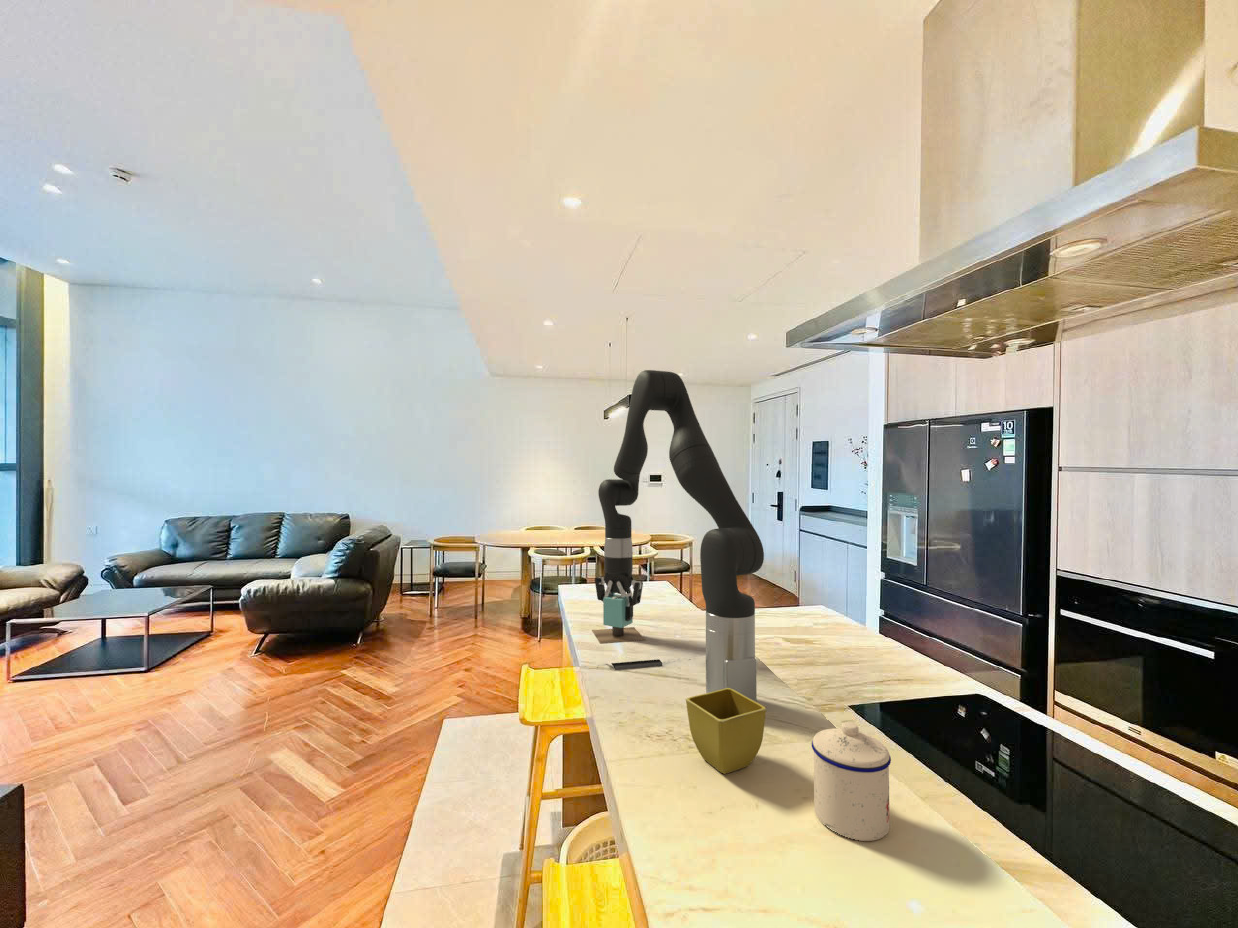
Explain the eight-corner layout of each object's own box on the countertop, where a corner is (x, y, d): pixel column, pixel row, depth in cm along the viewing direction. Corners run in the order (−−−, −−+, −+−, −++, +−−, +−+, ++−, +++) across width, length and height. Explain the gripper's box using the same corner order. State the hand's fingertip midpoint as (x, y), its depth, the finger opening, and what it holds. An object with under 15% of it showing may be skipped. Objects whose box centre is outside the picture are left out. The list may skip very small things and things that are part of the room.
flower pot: (720, 786, 71) (720, 720, 72) (684, 756, 79) (684, 697, 80) (768, 770, 76) (767, 707, 76) (729, 743, 83) (729, 686, 84)
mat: (662, 666, 118) (662, 662, 118) (615, 670, 115) (615, 666, 115) (648, 650, 128) (648, 647, 128) (605, 653, 126) (605, 650, 126)
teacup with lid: (908, 842, 61) (907, 741, 61) (834, 846, 60) (833, 744, 60) (853, 782, 72) (852, 698, 73) (791, 785, 72) (790, 700, 72)
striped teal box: (621, 627, 132) (621, 599, 132) (603, 624, 135) (603, 597, 135) (632, 622, 137) (632, 595, 137) (614, 619, 140) (614, 593, 140)
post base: (646, 646, 132) (646, 618, 132) (600, 649, 129) (600, 621, 129) (633, 632, 143) (634, 607, 144) (591, 635, 141) (591, 609, 141)
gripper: (588, 554, 137) (588, 618, 137) (634, 558, 130) (635, 625, 129) (603, 551, 144) (603, 612, 143) (648, 554, 136) (649, 619, 136)
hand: (618, 618), depth 136 cm, fingers closed on striped teal box, 5 cm apart
